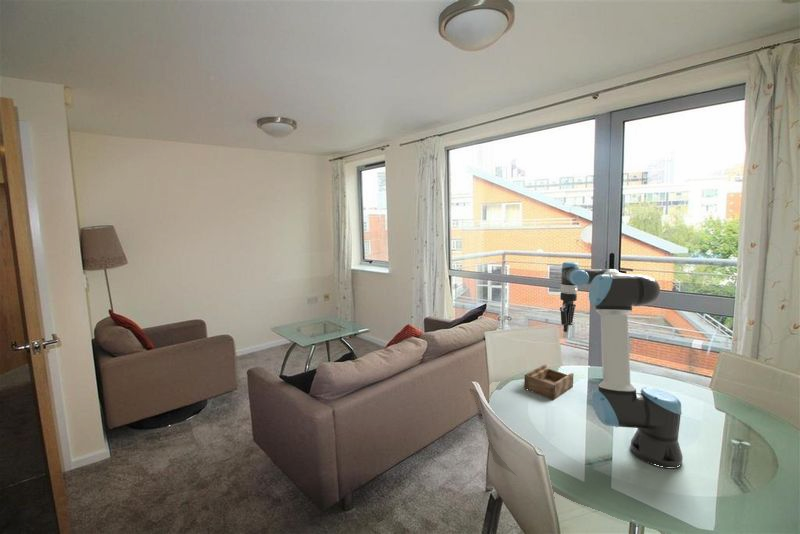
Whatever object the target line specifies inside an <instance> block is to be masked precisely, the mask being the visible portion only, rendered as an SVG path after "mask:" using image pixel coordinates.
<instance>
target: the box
mask: <svg viewBox="0 0 800 534" xmlns="http://www.w3.org/2000/svg"><path fill="white" fill-rule="evenodd" d="M574 373H575V372H574ZM574 373H570V374H568V375H567V374H564V373H561V372H558V370H554V369H551V368H550V367H547V364H546V363H545V364H543V365H541V366H538V367H537V368H535V369H533V370H531V371H529V372H527V373H525V374H524V380H523V381H524V382H523V384H524V385H523V389H524V388H525V389H524V390H526V389H528V390H527V391H529V390H530V391H529V392H531V391H533V392H532V393H534V392H535V393H534V394H536V393H537V395H539V394H540V395H539V396H541V395H542V397H544V398H548V399H550V400H553V401H554V400H556V399H558V398H559V397H561V396H562V395H564V394H565V393H566V392H567V391H569V390H571V389H573V387H574V384H573V376H574Z"/></svg>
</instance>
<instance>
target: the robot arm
mask: <svg viewBox="0 0 800 534" xmlns="http://www.w3.org/2000/svg"><path fill="white" fill-rule="evenodd" d="M560 281H561V282H560V294H559V295H560V297H559V298H560V300H561V301H562V306H559V311H560V322H561V325H562V327H563V329H562V330H563V331H562V338H566V339H569V338H570V337H571V336H570V332H571V326H572V325H573V321H574V320H573V319H574V316H575V310H576V306H577V305H576V304H575V303H574V302H575V301H577V298H578V294H577V292H578V289H579V287H580V286H581V287H583V286H585V285H589V289H588V300H589V303H590V304H591V305H592V306H595V311H596V313H598V314H599V316H600V335H601V336H600V338H601V339H600V340H601V341H600V342H601V362H602V363H601V364H602V368H601V369H602V381H601V382H600V383H599V384H598V389H597V390H594V391H593V392H592V397H591V398H592V399H591V400H592V406H593V409H594V413H595V415H596V417H597V419H598V420H599V422H600V423H601V424H602V425H604V426H609V427H615V428H629V429H630V428H632V429H633V428H634V429H635V428H636V431H635V433H634V434H633V436H632V438H631V439H630V447H629V448H630V451H631V452H632V453H633V454H634V455H635V456H636V457H637V458H639V459H640V460H641V459H642V460H641V461H643V460H644V461H643V462H645V461H646V462H645V463H647V462H649V463H652V464H656V465H659V466H663V467H677V466H679V465H681V464H683V457H684V456H683V453H682V450H681V446H680V443H679V432H680V426H681V425H680V424H681V415H682V402H681V401H680V399H679V398H678V397H677V396H675V395H674V394H671V393H670V392H667V391H666V390H663V389H659V388H655V387H650V386H644V387H642V388H641V390H640V392H637V389H636V387H634V386H633V385H632V384H631V365H630V364H631V363H630V344H629V340H630V339H629V323H628V316H629V314H631V313H632V312H633V307H645V306H649V305H650V304H652V303H654V302H655V301H657V299H659V296H660V294H661V287H660V285H659V283H658V281H657V280H656V279H654V278H653V277H651V276H647V275H644V274H626V273H623V272H619V270H617V269H613V268H606V269H605V268H604V269H603V268H602V269H600V268H597V269H596V268H580V267H579V263H578V262H575V261H574V262H573V261H564V262H562V265H561V280H560ZM649 463H648V464H649ZM681 466H682V465H681Z"/></svg>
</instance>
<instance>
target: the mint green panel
mask: <svg viewBox="0 0 800 534" xmlns="http://www.w3.org/2000/svg"><path fill="white" fill-rule="evenodd" d="M560 369H561V370H566V371H568V370H567V369H563V368H560ZM581 375H582V374H580V375H579V376H578V375H574V376H573V385H574V384H575V383H576V382H578V381H580V378H581V379H582V378H583V377H582V376H581Z"/></svg>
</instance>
